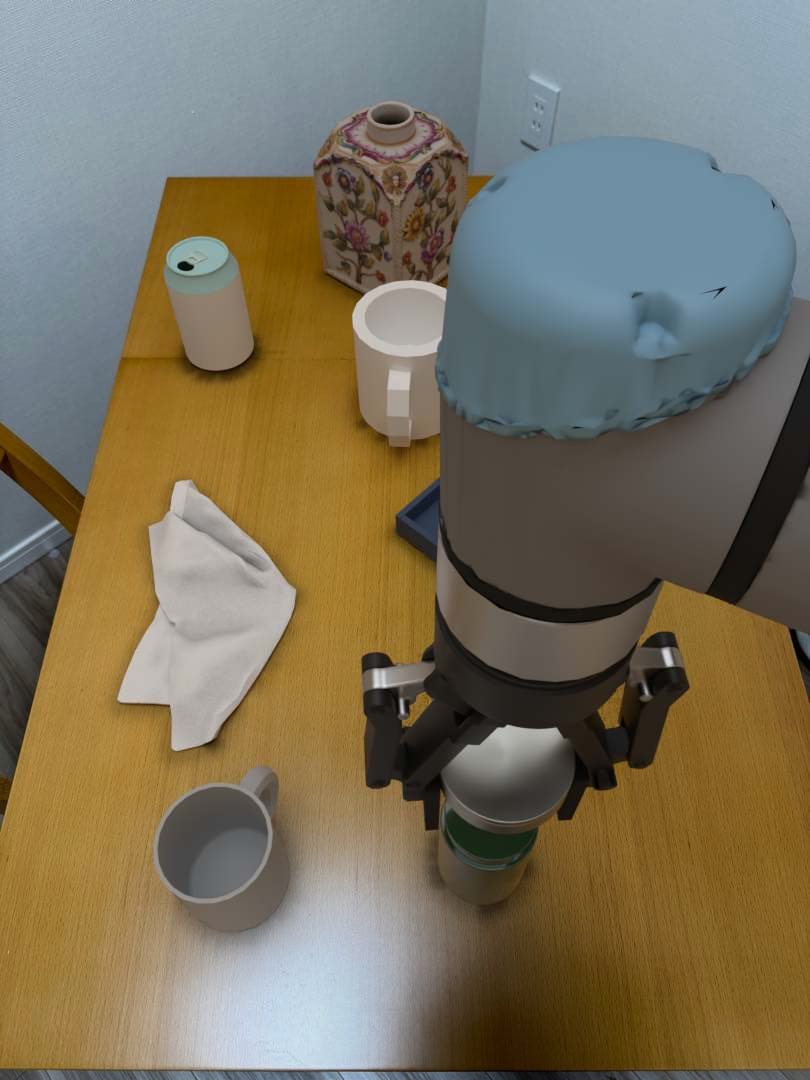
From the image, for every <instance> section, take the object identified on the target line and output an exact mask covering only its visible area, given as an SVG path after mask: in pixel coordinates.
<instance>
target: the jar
mask: <svg viewBox="0 0 810 1080" xmlns="http://www.w3.org/2000/svg"><path fill="white" fill-rule="evenodd" d="M438 831H439V833H438V844H437V845H438V847H437V866H438V871H439V874H440V877H441V879H442V881H443V883H444V884H445V886H446V887H447V888H448V890H449V891H450V892H451V893H452V894H453V895H454V896H456V897H457V898H459V899H460V900H462V901H464V902H466V903H468V904H473V905H477V906H487V905H493V904H497V903H499V902H501V901H503V900H505V899H507V898H508V897H509V896H510V895H511V894H513V892H514V891H515V890H516V889H517V888H518V886H519V884H520V882H521V880H522V877H523V875H524V872H525V870H526V868H527V865H528V862H529V860H530V857H531V855H532V852H533V850H534V847H535V844H536V842H537V839H538V835H539V827H537V828H534V829H532V830H529V831H526V832H523V833H517V834H498V833H493V832H489V831H485V830H482V829H480V828H477V827H475V826H474V825H472V824H470V823H468V822H467V821H466V820H464V819H463V818H461V817H460V816H459V815H458V814H457V813H456V812H455V811H454V810H453V808H452V807H451V806H450V805H449V803H448V802H447V800H446V799H445V798H444V800H443V803H442V805H441V808H440V815H439V830H438Z"/></svg>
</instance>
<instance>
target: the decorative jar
mask: <svg viewBox="0 0 810 1080" xmlns="http://www.w3.org/2000/svg"><path fill="white" fill-rule="evenodd" d="M469 161H470V160H469V154H468V153H467V151H466V150H465V148H464V147H463V145H462V143H461V142H460V140H458V139H457V138H456V135H455V134H454V133H453V132H452V131H451V130H450V128H449V127H448V126H447V124H446V122H445V121H444V120H443V119H442V118H440V117H438V116H435V115H433V114H431V113H429V112H427V111H425V110H423V109H419V108H417V107H415V106H410V105H409V104H406V103H405V102H400V101H393V100H391V101H390V100H388V101H382V102H379V103H377V104H376V105H373V106H367V107H362V108H360V109H358V110H357V111H355V112H353V113H351V114H349V115H347V116H345V117H344V118H343V119H341V120H340V121H338V122H337V123H336V124H335V125H334V126H333V128H332V130H331V131H330V132H329V134H328V136H327V138H326V139H325V141H324V143H323V145H322V146H321V147H320V149H319V151H318V153H317V155H316V157H315V159H314V160H313V163H312V172H313V180H314V181H313V182H314V190H315V201H316V202H315V203H316V213H317V221H318V233H319V240H320V249H321V258H322V264H323V271H324V273H325V274H328V275H330V276H331V277H332V278H335V279H336V280H339V281H340V282H341V283H343V284H345V285H347V286H349V287H350V288H352V289H354V290H356V291H358V292H360V293H361V294H362V295H363V296H364V295H365V294H366V293H368V292H370V291H371V290H373V289H375V288H377V287H379V286H381V285H384V284H388V283H392V282H395V281H408V280H415V281H422V282H429V283H432V284H435V285H438V283H439V282H441V281H442V280H443V279H445V278H446V277H448V273H449V263H450V254H451V246H452V242H453V238H454V235H455V232H456V229H457V226H458V224H459V222H460V219H461V217H462V215H463V213H464V211H465V209H466V207H467V205H468V185H469V183H468V182H469V163H470V162H469Z"/></svg>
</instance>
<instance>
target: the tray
mask: <svg viewBox="0 0 810 1080" xmlns="http://www.w3.org/2000/svg"><path fill="white" fill-rule="evenodd" d="M439 496H440V476H439V477H438V478H436V479H435V480H434V481H433V482H432V483H431V484H430V485H428V486H427V487H426V488H425V489H424V490H423V491H422V492H420V493H419V494H418V495H417V496H416V497H414V499H412V500H411V501H410V502H408V504H407V505H405V506H404V507H403V508H402V509H400V511H398V512H397V513H396V514H395V533H396V534H397V535H399V536H400V537H401V538H402V539H404V540H405V541H407V542H408V543H409V544H411V546H413V547H415V548H416V549H417V550H418V551H420V552H421V553H422V554H423V555H425V556H426V557H428V558H429V559H431V560H432V561H433V562H435V564H437V548H438V524H439V513H438V500H439Z"/></svg>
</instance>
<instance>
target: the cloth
mask: <svg viewBox="0 0 810 1080" xmlns="http://www.w3.org/2000/svg"><path fill="white" fill-rule="evenodd" d="M171 494H172V495H171V500H170V507H169V510H167V512H166V514H165V515H164V517H163V518H162V520H161V521H159V522H156V523H154V524H151V525H148V535H149V543H150V544H149V545H150V546H149V547H150V557H151V563H152V571H153V580H154V592H155V593H154V594H155V595H156V597H157V600H158V601H159V604H158V608H157V610H156V612H155V615H154V619H153V620H152V622H151V623H150V625H149V626H148V628H147V629H146V631H145V633H144V634H143V636H142V637H141V640H140V642H139V644H138V645H137V647H136V649H135V651H134V653H133V656H132V658H131V660H130V662H129V665H128V667H127V669H126V672H125V674H124V676H123V680H122V683H121V685H120V688H119V692H118V695H117V699H116V700H117V701H118V702H119V703H120V704H140V705H141V704H144V705H146V704H149V705H164V706H170V714H171V749H170V750H172V751H174V752H176V753H177V752H181V751H186V750H189V749H190V750H191V749H194V748H198V747H201V746H203V745H205V744H207V743H209V742H211V741H213V740H214V739H216V738H217V737H218V735H219V733H220V731H221V730H222V729H221V728H222V726H223V725H224V722H225V721H226V720H227V719H228V718H229V717H230V715H231V714H232V713H233V712H234V711H235V709H236V708H238V706H239V705H240V704H241V702H242V700H243V699H244V698H245V696H246V694H247V693H248V692H249V690H250V689H251V687H252V685H253V684H254V682H255V681H256V680H257V678H258V677H259V675H260V674H261V672H262V670H263V669H264V666H265V665H266V664H267V662H268V660H269V658H270V657H271V655H272V653H273V651H274V650H275V648H276V646H277V645H278V644H279V642H280V640H281V638H282V636H283V634H284V633H285V630H286V628H287V626H288V624H289V622H290V620H291V618H292V615H293V612H294V610H295V605H296V597H297V588H295V587H293V585H291V584H290V583H289V582H288V581H287V579H286V578H285V576H284V575H283V574H282V573H281V571H280V570H279V568H278V567H277V566H276V565H275V563H274V562H273V560H272V559H271V557H270V556H269V554H268V553H266V550H264V548H263V547H262V546H261V545H260V544H258V543H257V542H256V541H255V540H254V539H253V538H252V537H251V536H249V534H248V533H246V532H245V531H244V530H243V529H242V528H241V527H240V526H238V525H237V524H236V523H235V522H234V521H233V520H232V519H231V518H229V516H228V515H226V514H225V513H224V512H223V511H222V510H221V509H220V508H219V507H218V506H217V505H216V504H215V503H214V501H212V500H211V499H210V498H209V497H208V496H206V495H205V494H203V493H201V492H200V491H199V490H198V488H197V486H196V484H195V483H194V481H193V479H184V480H183V479H182V480H179V481H176V482H175V483H174V487H173V490H172V493H171Z"/></svg>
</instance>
